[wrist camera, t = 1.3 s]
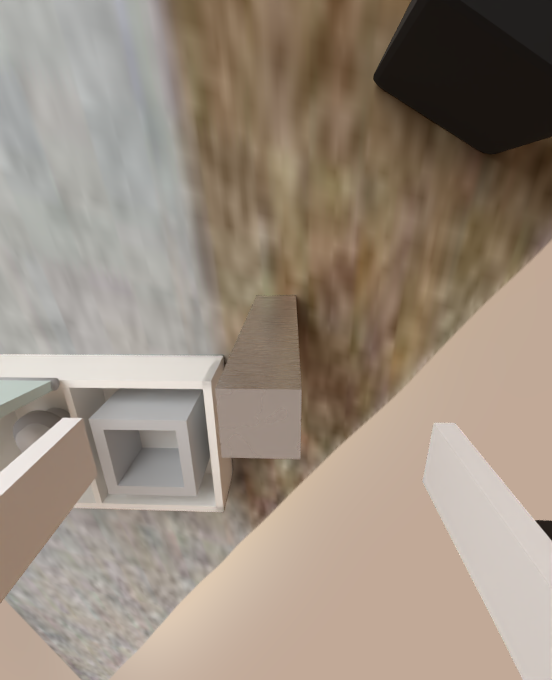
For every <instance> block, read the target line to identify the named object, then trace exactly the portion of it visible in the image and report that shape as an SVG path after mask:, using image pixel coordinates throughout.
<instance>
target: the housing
mask: <svg viewBox="0 0 552 680" xmlns="http://www.w3.org/2000/svg"><path fill="white" fill-rule="evenodd" d="M223 370H224V356H223V355H45V354H0V377H21V378H58V380H59V382H60V384H59V388H58V389H57V390H55V391H51V392H49V393H47V394H45V395H43V396H42V397H40V398H38V399H36V400H34V401H32V402H30V403H28V404H26V405H24V406H22V407H21V408H19V409H17V410H15V411H13V412H11V413H9V414H7V415H5V416H3V417H2V418H0V472H1V471H2V470H3V469H5V468H6V467H7V466H8V465H9V464H10V463H11V462H13V461H14V460H15V459H16V458H17V457H18V456H20V455H21V454H22V453H23V452H24V451H25V450H26V449H28V448H29V447H30V446H31V445H32V444H33V443H35V442H36V441H37V440H38V439H39V438H40V437H41V436H43V435H44V434H45V433H46V432H47V431H48V430H50V429H51V428H52V427H53V426H54V425H55V424H56V423H58V422H59V421H60V420H61V419H62V418H83V421H84V425H85V429H86V433H87V436H88V440H89V444H90V448H91V451H92V455H93V459H94V462H95V466H96V470H97V474H98V475H97V477H96V478H95V479H94V481H93V482H92V483H91V484H90V486H89V487H88V488H87V490H86V491H85V492H84V494H83V495H82V496H81V498H80V499H79V500H78V502H77V503H76V504H75V506H74V507H73V508H97V509H132V510H167V511H202V512H224V509H225V505H226V500H227V496H228V492H229V487H230V483H231V478H232V474H233V468H232V458H224V457H222V455H221V445H220V434H219V424H218V413H217V403H216V392H215V388H216V386H217V383H218V381H219V379H220V377H221V374H222V372H223Z"/></svg>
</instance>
